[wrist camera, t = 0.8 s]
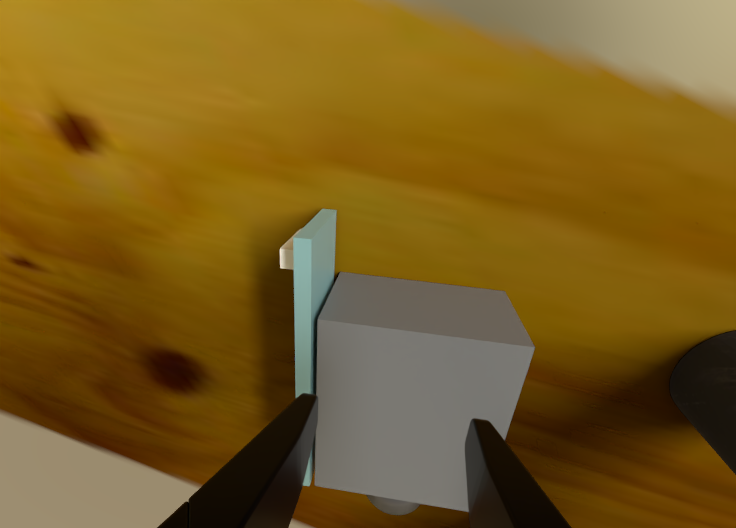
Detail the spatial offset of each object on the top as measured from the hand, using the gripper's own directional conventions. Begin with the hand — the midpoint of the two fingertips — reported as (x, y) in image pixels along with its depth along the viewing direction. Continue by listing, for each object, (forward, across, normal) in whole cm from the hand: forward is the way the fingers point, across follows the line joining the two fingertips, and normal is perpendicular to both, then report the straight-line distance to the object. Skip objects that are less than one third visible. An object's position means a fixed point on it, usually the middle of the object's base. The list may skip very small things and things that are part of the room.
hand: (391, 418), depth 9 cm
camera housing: (+13, -1, +9) cm, 16 cm away
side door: (+12, +5, +6) cm, 14 cm away
